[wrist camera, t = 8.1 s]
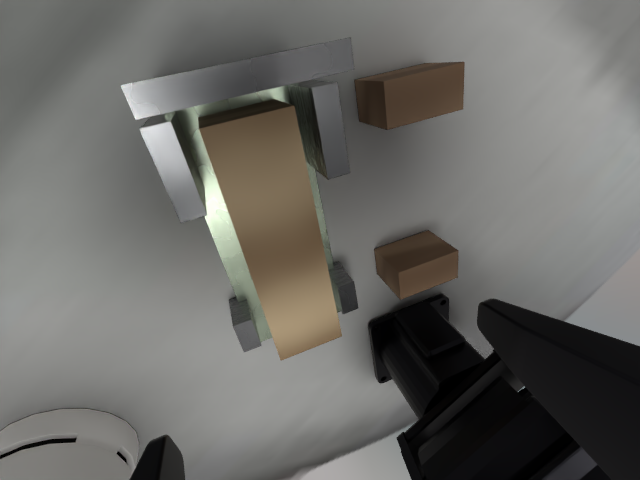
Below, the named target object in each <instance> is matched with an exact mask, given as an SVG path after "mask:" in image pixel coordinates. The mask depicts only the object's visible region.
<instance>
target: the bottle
mask: <svg viewBox="0 0 640 480" xmlns="http://www.w3.org/2000/svg"><path fill="white" fill-rule="evenodd" d="M62 438H77V439H76V442H75V443H55V444H46V445H41V446H37V447H33V448H28V449H24V450H20V451H18V452H16V453H14V454H11V455H9V456H7V457H4V458H2V459H0V480H129V479H130V478H131V476H132V474H133V472H134V470H135V468H136V464H137V457H138V451H139V441H138V437H137V433H136V431H135V430H134V429H133V428H132V427H131V426H130V425H129V424H128V423H127V422H126V421H125V420H123V419H120V418H118V417H116V416H114V415H112V414H110V413H107V412H101V411H96V410H91V409H58V410H53V411H48V412H43V413H38V414H33V415H31V416H29V417H26V418H24V419H21V420H19V421H17V422H14V423H12V424H9V425H8V426H7V427H5V428H4V429H3V430H1V431H0V456H1V455H2V454H5V453H7V452H9V451H12V450H14V449H16V448H19V447H21V446H23V445H26V444H31V443H35V442H40V441H44V440H49V439H62ZM118 451H119V452H120V453H121V454H122V455H123V456H124V457H125V458H126V460H127V462H125V461H123V460H122V459H121V458H120V457H119V456H118V455H117V454H116V453H117V452H118Z"/></svg>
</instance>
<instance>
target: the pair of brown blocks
mask: <svg viewBox="0 0 640 480" xmlns="http://www.w3.org/2000/svg"><path fill="white" fill-rule="evenodd" d="M464 63H465V62H448V63H424V64H420V65H416V66H411V67H407V68H403V69H399V70H395V71H390V72H386V73H382V74H378V75H373V76H369V77H365V78H361V79H357V80H355V88H356V97H357V105H358V114H359V121H360V122H363V123H366V124H370V125H373V126H376V127H380V128H383V129H386V130H389V129H392V128H396V127H400V126H403V125H407V124H411V123H414V122H418V121H422V120H425V119H429V118H433V117H436V116H440V115H443V114H447V113H451V112H454V111H458V110H462V109H463V94H464ZM374 251H375V259H376V268H377V274H378V275H379V276H380V278H381V279H382V280H383V281H384V282H385V283H386V284H387V285H388V286H389V287H390V289H391V290H392V291H393V292H394V293H395V294H396V295H397V296H398V297H399V299H400V300H401V299H404V298H406V297H409V296H411V295H414V294H417V293H419V292H422V291H424V290H427V289H429V288H432V287H434V286H437V285H440V284H442V283H445V282H447V281H450V280H452V279H455V278H458V250H457V249H455V248H454V247H452V246H451V245H449V244H448V243H446V242H445V241H444V240H442V239H441V238H439V237H438V236H436V235H435V234H433V233H432V232H430V231H429V230H427V231H425V232H422V233H419V234H416V235H413V236H410V237H407V238H405V239H402V240H399V241H396V242H393V243H390V244H387V245H385V246H382V247H379V248H376V249H374Z"/></svg>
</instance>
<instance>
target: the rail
mask: <svg viewBox="0 0 640 480" xmlns="http://www.w3.org/2000/svg"><path fill="white" fill-rule="evenodd" d="M198 123H199V130H200V133H201V136H202V139H203V142H204V144H205V147H206V150H207V153H208V156H209V159H210V161H211V164H212V167H213V170H214V173H215V176H216V178H217V181H218V184H219V187H220V190H221V193H222V195H223V198H224V201H225V204H226V207H227V210H228V212H229V215H230V218H231V221H232V224H233V226H234V229H235V232H236V235H237V238H238V241H239V243H240V246H241V249H242V252H243V255H244V258H245V260H246V263H247V266H248V269H249V272H250V275H251V277H252V280H253V283H254V286H255V289H256V292H257V294H258V297H259V300H260V303H261V306H262V309H263V311H264V314H265V317H266V320H267V323H268V326H269V328H270V331H271V334H272V337H273V340H274V343H275V345H276V348H277V351H278V354H279V357H280V360H284V359H286V358H289V357H291V356H294V355H296V354H299V353H301V352H304V351H306V350H309V349H311V348H314V347H316V346H319V345H321V344H324V343H326V342H329V341H331V340H334V339H336V338H339V337H341V336H342V334H341V329H340V324H339V319H338V314H337V310H336V305H335V300H334V295H333V290H332V286H331V281H330V276H329V271H328V266H327V261H326V257H325V252H324V247H323V242H322V237H321V232H320V228H319V223H318V218H317V213H316V208H315V203H314V199H313V194H312V189H311V184H310V179H309V174H308V170H307V165H306V160H305V155H304V150H303V145H302V141H301V136H300V131H299V126H298V121H297V116H296V112H295V107H294V105H291V104H288V103H285V102H282V101H279V100H276V99H273V100H268V101H264V102H260V103H256V104H252V105H247V106H243V107H239V108H235V109H230V110H226V111H222V112H218V113H214V114H209V115H205V116H201V117H198Z"/></svg>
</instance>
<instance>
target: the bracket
mask: <svg viewBox="0 0 640 480" xmlns="http://www.w3.org/2000/svg"><path fill="white" fill-rule="evenodd" d="M351 70H354V62H353V54H352V45H351V37H350V38H345V39H340V40H335V41H331V42H326V43H321V44H316V45H311V46H307V47H302V48H297V49H292V50H288V51H283V52H278V53H273V54H268V55H264V56H259V57H254V58H249V59H244V60H240V61H235V62H230V63H225V64H221V65H216V66H211V67H206V68H201V69H197V70H192V71H187V72H182V73H177V74H173V75H168V76H163V77H158V78H153V79H149V80H144V81H139V82H134V83H130V84H125V85H121V88H122V90H123V92H124V94H125V97H126V99H127V101H128V104H129V106H130V108H131V110H132V113H133V115H134V117H135V120H138V119H142V118H146V117H150V118H149V119H148V120H147V121H146V122H145V123H144V125H143V126H142V127H141V128H140V132H141V134H142V136H143V138H144V141H145V143H146V145H147V148H148V150H149V152H150V154H151V157H152V159H153V161H154V163H155V166H156V168H157V170H158V173H159V175H160V177H161V179H162V182H163V184H164V186H165V188H166V191H167V193H168V195H169V198H170V200H171V202H172V204H173V207H174V209H175V211H176V213H177V216H178V218H179V220H180V223H183V222H186V221H190V220H193V219H196V218H200V217H203V216H204V217H205V219H206V222H207V224H208V227H209V229H210V232H211V234H212V237H213V239H214V242H215V244H216V247H217V250H218V252H219V255H220V257H221V260H222V262H223V265H224V267H225V270H226V272H227V275H228V277H229V280H230V282H231V285H232V287H233V290H234V293H235V295H236V298H233V299H230V300H229V303H230V310H231V316H232V323H233V327H234V330H235V332H236V335H237V337H238V339H239V342H240V344H241V346H242V349H243V351H244V352H246V351H249V350H251V349H254V348H257V347H259V346H261V342H262V341H265V340H267V339H270V338H272V334H271V331H270V328H269V326H268V323H267V320H266V317H265V314H264V311H263V309H262V306H261V303H260V300H259V297H258V294H257V292H256V289H255V286H254V283H253V280H252V277H251V275H250V272H249V269H248V266H247V263H246V260H245V258H244V255H243V252H242V249H241V246H240V243H239V241H238V238H237V235H236V232H235V229H234V226H233V224H232V221H231V218H230V215H229V212H228V210H227V207H226V204H225V201H224V198H223V195H222V193H221V190H220V187H219V184H218V181H217V178H216V176H215V173H214V170H213V167H212V164H211V161H210V159H209V156H208V153H207V150H206V147H205V144H204V142H203V139H202V136H201V133H200V130H199V123H198V117H201V116H205V115H209V114H214V113H218V112H222V111H226V110H230V109H235V108H239V107H243V106H247V105H252V104H256V103H260V102H264V101H268V100H273V99H276V100H279V101H282V102H285V103H288V104H291V105H294V107H295V112H296V116H297V121H298V126H299V131H300V136H301V141H302V145H303V150H304V155H305V160H306V165H307V170H308V174H309V179H310V184H311V189H312V194H313V199H314V203H315V208H316V213H317V218H318V223H319V228H320V232H321V237H322V242H323V247H324V252H325V257H326V261H327V266H328V271H329V276H330V281H331V286H332V290H333V295H334V300H335V305H336V310H337V313H338V312H340V311H341V312H342V313H343V314H345V313H348V312H350V311H353V310H355V309H358V303H357V297H356V291H355V285H354V281H353V280H352V279H351V277H350V276H349V275H348V273H347V272H346V271H345V269H344V268H343V267H342V265H341V264H340V263H339V262H336V263H333V260H332V255H331V250H330V245H329V240H328V235H327V229H326V224H325V219H324V214H323V209H322V204H321V199H320V193H319V188H318V183H317V178H316V173H315V169H316V170H317V171H318V172H319V173H321V174H322V175H323V176H324V177H326V178H327V179H331V178H335V177H338V176H342V175H345V174H348V173H350V168H349V161H348V154H347V147H346V140H345V133H344V126H343V118H342V111H341V104H340V97H339V90H338V83H337V82H327V81H314V80H311V79H316V78H320V77H324V76H329V75H333V74H338V73H342V72H346V71H351Z"/></svg>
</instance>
